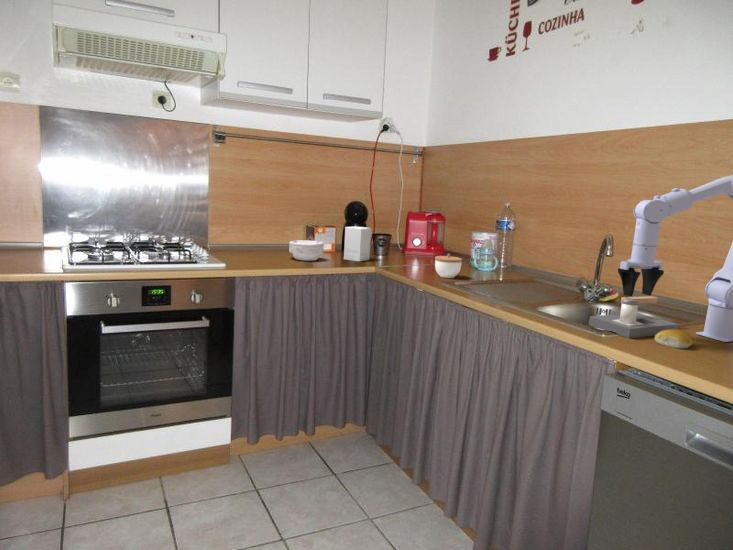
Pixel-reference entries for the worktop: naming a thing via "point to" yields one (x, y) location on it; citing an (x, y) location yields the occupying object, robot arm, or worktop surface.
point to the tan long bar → (642, 299)
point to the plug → (629, 311)
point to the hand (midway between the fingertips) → (637, 295)
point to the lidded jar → (447, 266)
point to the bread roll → (674, 338)
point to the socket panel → (632, 325)
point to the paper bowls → (306, 249)
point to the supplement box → (357, 243)
